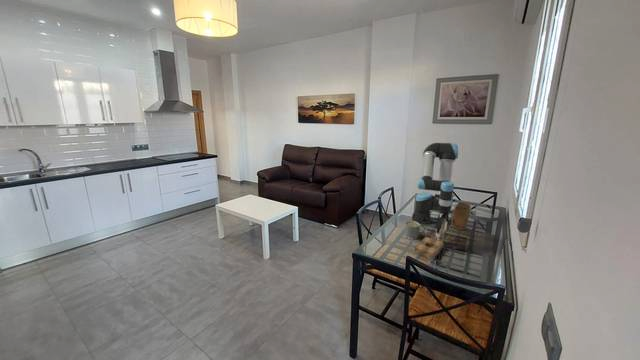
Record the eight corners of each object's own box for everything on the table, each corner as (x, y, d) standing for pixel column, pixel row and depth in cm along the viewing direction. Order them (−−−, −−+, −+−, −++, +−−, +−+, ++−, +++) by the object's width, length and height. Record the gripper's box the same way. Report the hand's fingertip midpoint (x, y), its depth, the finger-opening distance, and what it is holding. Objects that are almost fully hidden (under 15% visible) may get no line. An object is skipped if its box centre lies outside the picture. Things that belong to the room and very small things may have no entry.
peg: (435, 242, 179) (438, 219, 174) (437, 239, 182) (440, 217, 177) (441, 244, 176) (445, 220, 171) (443, 241, 179) (447, 218, 174)
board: (414, 252, 168) (415, 247, 166) (425, 241, 180) (425, 236, 179) (433, 259, 160) (434, 254, 159) (442, 247, 172) (443, 242, 171)
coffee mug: (402, 237, 187) (403, 224, 184) (406, 231, 195) (407, 219, 192) (421, 242, 180) (422, 229, 177) (424, 236, 187) (425, 223, 184)
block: (467, 227, 198) (471, 204, 192) (465, 231, 193) (469, 207, 187) (452, 224, 205) (455, 200, 199) (449, 227, 199) (453, 204, 193)
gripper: (444, 212, 160) (440, 242, 166) (456, 200, 177) (452, 228, 183) (432, 209, 165) (428, 238, 171) (444, 198, 182) (441, 225, 188)
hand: (440, 233), depth 177 cm, fingers open, 12 cm apart
